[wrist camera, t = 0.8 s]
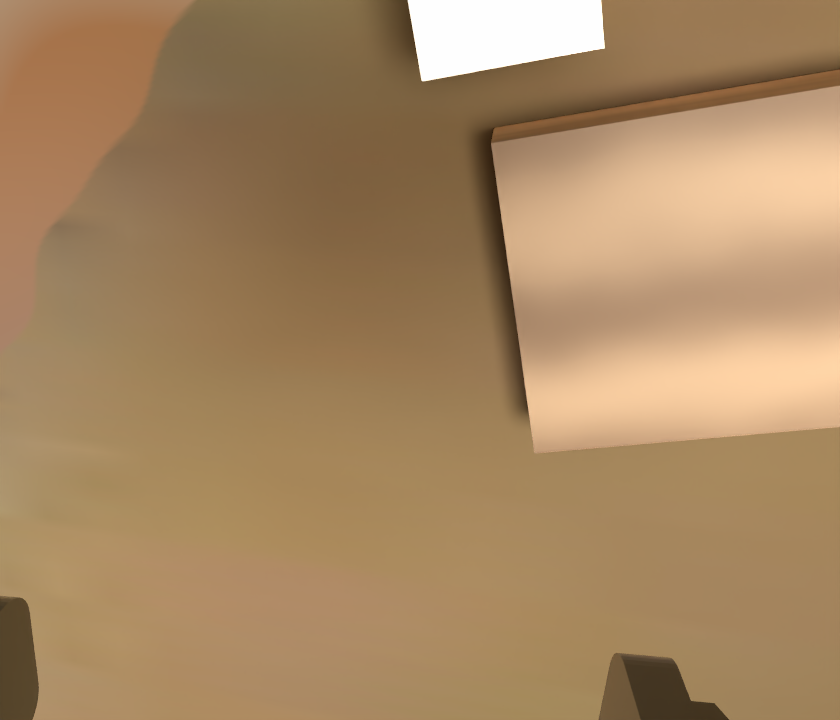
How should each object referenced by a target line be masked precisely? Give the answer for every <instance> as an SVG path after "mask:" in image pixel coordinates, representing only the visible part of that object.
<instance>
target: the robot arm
mask: <svg viewBox="0 0 840 720" xmlns="http://www.w3.org/2000/svg"><path fill="white" fill-rule="evenodd" d="M38 690H39V686H38V676H37V668H36V660H35V652H34V644H33V636H32V628H31V620H30V612H29V607H28V605H27V603H26V601H25V600H24V599H22V598H17V597H6V596H0V720H32V719H33V716H34V713H35V709H36V705H37V700H38ZM599 720H729V719H728V718H727V717H726V716H725V715H724V714H723V713H722V711H721V710H720V709H719V708H718V707H717V706H716V705H715V704H714V703H705V702H694V701H691V700H690V698H689V695H688V692H687V690H686V687H685V685H684V682H683V680H682V677H681V674H680V672H679V669H678V667H677V665H676V663H675V662H674V660H673V659H671V658H666V657H655V656H644V655H633V654H622V653H616V654H614V656H613V657H612V660H611V663H610V667H609V672H608V677H607V682H606V687H605V691H604V696H603V701H602V706H601V711H600V716H599Z"/></svg>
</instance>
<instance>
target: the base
mask: <svg viewBox="0 0 840 720" xmlns="http://www.w3.org/2000/svg"><path fill="white" fill-rule="evenodd" d="M491 146H492V153H493V160H494V168H495V175H496V182H497V189H498V196H499V203H500V210H501V217H502V225H503V232H504V239H505V246H506V253H507V260H508V267H509V275H510V282H511V289H512V296H513V303H514V310H515V317H516V325H517V332H518V339H519V346H520V353H521V360H522V367H523V375H524V382H525V389H526V396H527V403H528V410H529V417H530V425H531V432H532V439H533V446H534V453H544V452H556V451H567V450H579V449H590V448H602V447H613V446H625V445H636V444H647V443H659V442H670V441H682V440H693V439H705V438H716V437H728V436H739V435H751V434H762V433H773V432H785V431H796V430H808V429H819V428H831V427H840V69H839V70H833V71H827V72H821V73H815V74H809V75H803V76H797V77H791V78H785V79H780V80H774V81H768V82H762V83H756V84H750V85H744V86H738V87H732V88H726V89H720V90H715V91H709V92H703V93H697V94H691V95H685V96H679V97H673V98H667V99H661V100H655V101H650V102H644V103H638V104H632V105H626V106H620V107H614V108H608V109H602V110H596V111H590V112H585V113H579V114H573V115H567V116H561V117H555V118H549V119H543V120H537V121H531V122H525V123H520V124H514V125H508V126H502V127H496V128H494V131H493V136H492V141H491Z"/></svg>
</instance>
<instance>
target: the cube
mask: <svg viewBox="0 0 840 720" xmlns="http://www.w3.org/2000/svg"><path fill="white" fill-rule="evenodd" d="M408 4H409V10H410V15H411V21H412V27H413V33H414V39H415V44H416V50H417V56H418V62H419V68H420V73H421V79H422V81H428V80H433V79H438V78H444V77H449V76H455V75H460V74H465V73H471V72H476V71H482V70H487V69H493V68H498V67H503V66H509V65H514V64H520V63H525V62H530V61H536V60H541V59H547V58H552V57H558V56H563V55H568V54H574V53H579V52H585V51H590V50H595V49H601V48H604V38H603V24H602V11H601V0H408Z"/></svg>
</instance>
